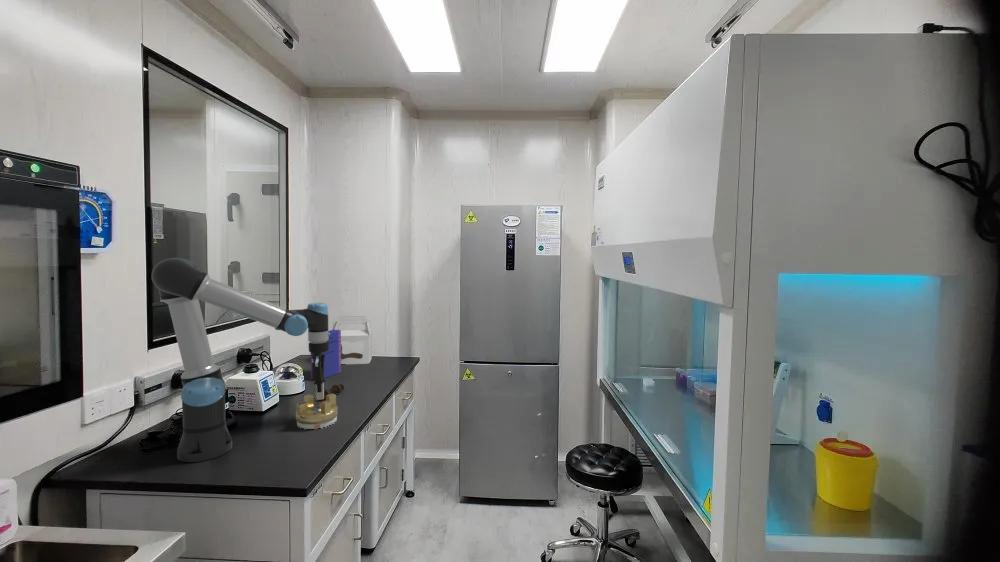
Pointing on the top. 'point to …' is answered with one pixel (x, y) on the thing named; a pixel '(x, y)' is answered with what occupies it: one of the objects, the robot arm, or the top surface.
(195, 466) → the top surface
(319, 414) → the ring nut
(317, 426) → the mounting flange
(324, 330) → the robot arm
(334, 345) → the cereal box
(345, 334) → the gable box
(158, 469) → the top surface
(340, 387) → the bolt
